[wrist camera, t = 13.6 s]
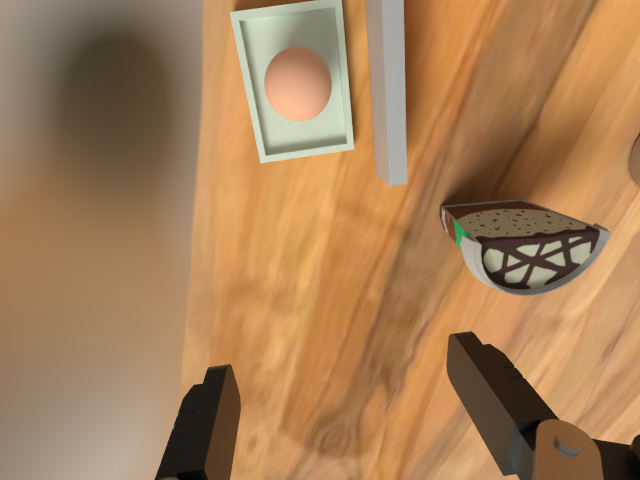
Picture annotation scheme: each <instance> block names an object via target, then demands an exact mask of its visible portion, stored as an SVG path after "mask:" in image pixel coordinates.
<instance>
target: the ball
mask: <svg viewBox="0 0 640 480" xmlns="http://www.w3.org/2000/svg"><path fill="white" fill-rule="evenodd" d="M264 87H265V93H266V96H267V99H268V101H269V103H270V105H271V106H272V108H273V109H274V110H275V111H276V112H277V113H278V114H279V115H281V116H282V117H284V118H286V119H288V120H291V121H299V122H300V121H307V120H310V119H312V118H314V117H316V116H317V115H319V114H320V113H321V112H322V111H323V109H324V108H325V107H326V105H327V103H328V101H329V99H330V96H331V91H332V80H331V75H330V71H329V69H328V67H327V65H326V63H325V62H324V60H323V59H322V58H321V57H320V56H319V55H318V54H316V53H315V52H314V51H312V50H310V49H307V48H303V47H291V48H287V49H284V50H283V51H281V52H279V53H278V54H277V55H276V56H275V57H274V58H273V59H272V60H271V62H270V63H269V65H268V67H267V70H266V73H265V79H264Z"/></svg>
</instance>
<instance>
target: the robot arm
mask: <svg viewBox="0 0 640 480" xmlns="http://www.w3.org/2000/svg"><path fill="white" fill-rule="evenodd" d="M630 172H631V176H632V178H633V180H634V181H635V182H636V184H638V185H639V186H640V136H639V137H638V139H637V141H636V143H635V145H634V147H633V150H632V153H631V158H630ZM447 373H448V376H449V379H450V382H451V384H452V385H453V387H454V389H455V391H456V393H457V394H458V396H459V398H460V400H461V401H462V403H463V405H464V407H465V408H466V410H467V412H468V414H469V416H470V417H471V419H472V421H473V423H474V424H475V426H476V428H477V430H478V431H479V433H480V435H481V437H482V439H483V440H484V442H485V444H486V446H487V447H488V449H489V451H490V453H491V455H492V456H493V458H494V460H495V462H496V463H497V465H498V467H499V469H500V470H501V472H502V474H503V476H507V475H513V474H517V476H518V477H519V479H520V480H640V434H639V435H637V436H636V437H635V438H634V440H633V442H632V444H631V445H626V444H620V443H614V442H607V441H601V440H596V439H592V438H590V437H589V436H588V435H587V434H586V433H585V432H584V431H582V430H581V429H579V428H578V427H576V426H574V425H572V424H570V423H568V422H565V421H562V420H559V418H558V417H557V416H556V415H555V414H554V413H553V412H552V410H551V409H550V408H549V407H548V406H547V404H546V403H545V402H544V401H543V400H542V398H541V397H540V396H539V395H538V394H537V392H536V391H535V390H534V389H533V388H532V386H531V385H530V384H529V383H528V382H527V380H526V379H525V378H523V376H522V374H521V373H520V372H519V371H518V370H517V368H515V367H514V365H513V364H512V362H511V361H510V360H509V359H508V358H507V356H506V355H505V354H504V353H503V352H501V351H500V350H498V349H497V348H495V347H494V346H492V345H491V344H486V345H483V344H482V343H481V341H480V340H479V339H478V338H477V336H476V335H475V334H474V333H473V332H471V331H470V332H463V333H455V334H450V336H449V341H448V353H447ZM240 410H241V402H240V394H239V390H238V387H237V383H236V380H235V376H234V372H233V369H232V366H231V365H230V364H228V365H221V366H214V367H209V368H208V369H207V372H206V375H205V378H204V382H203V384H197V385H193V387H192V388H191V389H190V390H189V392H188V393H187V394H186V396H185V397H184V398H183V401H182V404H181V406H180V409H179V412H178V416H177V418H176V421H175V424H174V429H173V430H172V432H171V435H170V438H169V441H168V444H167V447H166V449H165V452H164V455H163V458H162V461H161V464H160V466H159V469H158V472H157V475H156V477H155V480H230V476H231V469H232V463H233V456H234V450H235V443H236V437H237V430H238V424H239V418H240Z"/></svg>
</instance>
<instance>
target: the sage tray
mask: <svg viewBox="0 0 640 480" xmlns="http://www.w3.org/2000/svg"><path fill="white" fill-rule="evenodd" d="M230 17H231V22H232V27H233V31H234V36H235V41H236V46H237V51H238V56H239V61H240V65H241V70H242V75H243V80H244V85H245V90H246V95H247V100H248V104H249V109H250V114H251V119H252V124H253V129H254V134H255V138H256V143H257V148H258V153H259V158H260V163H266V162H272V161H279V160H286V159H292V158H299V157H306V156H312V155H319V154H326V153H332V152H339V151H346V150H353V149H354V140H353V128H352V117H351V105H350V93H349V81H348V69H347V58H346V46H345V34H344V22H343V10H342V0H315V1H308V2H300V3H293V4H286V5H278V6H271V7H264V8H256V9H249V10H241V11H234V12H230ZM291 47H303V48H307V49H310V50H312V51H314V52H315V53H316V54H318V55H319V56H320V57H321V58H322V59H323V60H324V62H325V63H326V65H327V67H328V69H329V71H330V75H331V80H332V91H331V96H330V99H329V101H328V103H327V105H326V107H325V108H324V109H323V111H322V112H321V113H320V114H319V115H317V116H316V117H314V118H312V119H310V120H307V121H300V122H299V121H291V120H288V119H286V118H284V117H282V116H281V115H279V114H278V113H277V112H276V111H275V110H274V109H273V108H272V106H271V105H270V103H269V101H268V99H267V96H266V93H265V87H264V79H265V73H266V70H267V67H268V65H269V63H270V62H271V60H272V59H273V58H274V57H275V56H276V55H277V54H278V53H279V52H281V51H283V50H284V49H287V48H291Z"/></svg>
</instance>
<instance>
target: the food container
mask: <svg viewBox="0 0 640 480" xmlns="http://www.w3.org/2000/svg"><path fill="white" fill-rule="evenodd" d="M440 218H441V222H442V225H443V228H444V229H445V230H446V232H447V233H448V234H449V235H450V237H451V238H452V239H453V240H454V241H455V242H456V244H457V245H458V246H459V247H460V248H461V249H462V251H463V256H464V259H465V262H466V264H467V266H468V268H469V270H470V271H471V272H472V273H473V275H474V276H475V277H476V278H478V279H479V280H480V281H482V282H483V283H485V284H487V285H489V286H491V287H493V288H495V289H497V290H499V291H501V292H505V293H508V294H513V295H519V296H534V295H540V294H544V293H547V292H551V291H554V290H556V289H558V288H561V287H563V286H564V285H566V284H568V283H570V282H571V281H573V280H574V279H576V278H577V277H578V276H580V275H581V274H582V273H583V272H584V271H586V270H587V269H588V268H589V267H590V266H591V265H592V264H593V262H594V261H595V260H596V259H597V258H598V256H599V255H600V254H601V252H602V251H603V249H604V247H605V245H606V244H607V242H608V240H609V237H610V235H611V232H609V231H607V229H606V228H604V227H602V226H600V225H598V224H596V223H594V226H593V225H591V224H588V223H585V222H582V221H580V220H577V219H574V218H572V217H569V216H566V215H563V214H561V213H558V212H555V211H553V210H550V209H547V208H545V207H542V206H539V205H536V204H534V203H531V202H528V201H526V200H523V199H516V200H504V201H493V202H481V203H469V204H458V205H446V206H440Z"/></svg>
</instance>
